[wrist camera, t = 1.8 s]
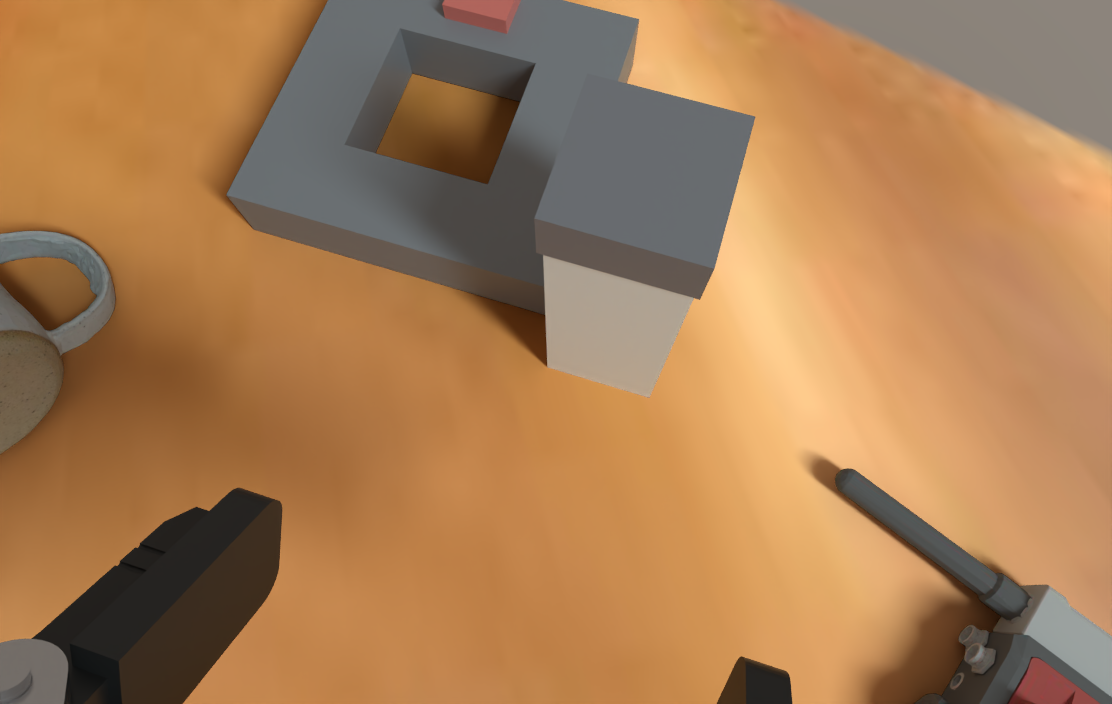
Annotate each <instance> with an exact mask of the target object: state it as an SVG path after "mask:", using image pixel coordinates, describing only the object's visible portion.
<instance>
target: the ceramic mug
mask: <svg viewBox="0 0 1112 704" xmlns="http://www.w3.org/2000/svg"><path fill="white" fill-rule="evenodd" d="M33 257H52V258H61V259H65V260H68V261H69V262H70V263H74V264H75V265H76V266H77V267H78V268H79V269H80V270H81V272H82V273H83V274H84V275H85V276H86V277H87V278H88V280H89V281H90V289H91V290H92V292H93V293H94V294H96V295H97V297H96V299H95V300H94V301H93V302H92V303H91V305H90V306H89V307H88V309H86V310H85V311H83V312H82V313H81V314H79V315H78V316H76V317H75V318H74V319H72V320H71V321H69V322H67V323H64V324H63V325H61V326H60V327H58V328H56V329H54V330H51V331H48V330H45V329H44V328H43V326H42V325H41V324H40V323H39V322H38V321H37V320H36V319H35V318H34V317H33V316H32V315H31V314H30V313H29V312H28V311H27V310H26V309H25V308H24V307H23V306H22V305H21V304H20V303H19V302H18V301H16V300H15V299H14V298H13V297H12V296H11V295H10V294H9V292H8V291H7V290H6V289H5V288H4V287H3V286H2V285H1V283H0V454H1V453H3V452H4V451H6V450H7V449H9V448H10V447H11V446H13V445H14V444H16V443H17V442H18V441H20V440H21V439H23V438H24V437H25V436H26V435H27V434H28V433H29V432H31V431H32V430H33V429H34V428H35V427H36V426H37V424H38V423H39V422H40V421H41V420H42V419H43V418H44V416H45V415H46V414H47V413H48V412H49V410H50V409H51V407H52V405H53V403H54V402H55V400H56V398H57V397H58V394H59V391H60V389H61V386H62V383H63V374H64V365H63V361H62V358H61V355H62V354H63V353H66V352H67V351H69V350H71V349H74V348H76V347H78V346H80V345H82V344H83V343H85V342H87V341H88V340H89V339H90V338H91V337H92V336H93V335H94V334H95V333H97V332H98V331H100V329H101V328H102V327H103V326H104V325H105V324H106V323H107V322H108V321H109V319H110V317H111V315H112V313H113V311H114V307H115V299H116V297H115V291H114V286H113V283H112V280H111V275H110V273H109V270H108V268H107V266H106V265H105V263H104V262H103V260H102V259H101V258H100V256H99V255H98V254H97V253H96V252H95V251H94V250H93V249H92V248H91V247H89V246H88V245H87V244H85V243H84V242H82V241H80V240H78V239H76V238H74V237H71V236H68V235H65V234H61V233H55V232H47V231H19V232H12V233H4V234H0V264H3V263H6V262H9V261H14V260H17V259H24V258H33Z"/></svg>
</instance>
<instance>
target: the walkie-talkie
mask: <svg viewBox="0 0 1112 704" xmlns="http://www.w3.org/2000/svg"><path fill="white" fill-rule="evenodd" d="M835 485H836V487H837V489H838V490H839V491H840V492H842V493H843V494H844V495H846V496H847V497H848V498H850V499H851V500H852V501H854V502H855V503H856V504H858V505H859V506H860V507H862V508H863V509H864V510H866V511H867V512H868V513H870V514H871V515H872V516H874V517H875V518H876V519H878V520H879V521H880V522H882V523H883V524H884V525H886V526H887V527H888V528H890V529H891V530H892V531H894V532H895V533H896V534H898V535H899V536H900V537H902V538H903V539H904V540H906V541H907V542H908V543H910V544H911V545H912V546H914V547H915V548H916V549H918V550H919V551H920V552H922V553H923V554H924V555H926V556H927V557H928V558H930V559H931V560H932V561H934V562H935V563H936V564H938V565H939V566H940V567H942V568H943V569H944V570H946V571H947V572H948V573H950V574H951V575H952V576H954V577H955V578H956V579H958V580H959V581H960V582H962V583H963V584H965V585H966V586H967V587H969V588H970V589H971V590H973V591H974V592H975V593H977V594H978V598H979V600H980V601H981V602H983V603H984V604H985V605H987V606H988V607H989V608H991V609H992V610H994V611H995V612H996V613H998V614H999V615H1000V616H1001V618H1000V619H999V621H998V623H997V624H996V626H995V628H994V629H993V633H989V632H988V631H986V630H979V629H977V628H976V627H975V626H973V625H969V626H967V627H966V628H964V630H963V631H962V632H961V633H960V635H959V642H960V643H961V644H963V645H964V646H965V647H966V650H965V652H966V653H965V656H964V659H963V661H962V662H961V664H960V666H959V667H958V669H957V671H956V672H955V674H954V676H953V677H952V679H951V681H950V683H949V684H948V686H947V688H946V689H945V691H944V693H943V694H942V696H940V695H937V694H927V695H925V696H923V697H922V698H921V699H919V700H918V701H917V702H916V703H914V704H1112V636H1111V635H1109V634H1108V633H1106V632H1105V631H1104V630H1102V629H1101V628H1100V627H1098V626H1097V625H1095V624H1094V623H1093V622H1091V621H1090V620H1089V619H1087V618H1086V617H1085V616H1083V615H1082V614H1080V613H1079V612H1078V611H1076V610H1075V609H1074V608H1072V607H1071V606H1070V605H1069V603H1068V601H1067V599H1066V598H1065V597H1064V596H1062V595H1061V594H1060V593H1058V592H1057V591H1056V590H1054V589H1053V588H1051V587H1050V586H1049V585H1026V586H1021V587H1020V586H1018V585H1017V584H1016V583H1014V582H1013V581H1012V580H1010V579H1009V578H1007V577H1006V576H1005V575H1003V574H1002V573H994V572H993V571H992V570H990V569H989V568H988V567H986V566H985V565H983V564H982V563H981V562H979V561H978V560H977V559H975V558H974V557H973V556H971V555H970V554H968V553H967V552H966V551H964V550H963V549H962V548H960V547H959V546H958V545H956V544H955V543H953V542H952V541H951V540H949V539H948V538H947V537H945V536H944V535H943V534H941V533H940V532H939V531H937V530H936V529H934V528H933V527H932V526H930V525H929V524H928V523H926V522H925V521H924V520H922V519H921V518H919V517H918V516H917V515H915V514H914V513H913V512H911V511H910V510H909V509H907V508H906V507H905V506H903V505H902V504H900V503H899V502H898V501H896V500H895V499H894V498H892V497H891V496H890V495H888V494H887V493H885V492H884V491H883V490H881V489H880V488H879V487H877V486H876V485H875V484H873V483H872V482H871V481H869V480H868V479H866V478H865V477H864V476H862V475H861V474H860V473H858V472H857V471H856V470H853V469H843V470H841V471H840V472H839V473H838V474H837V475H836V478H835Z"/></svg>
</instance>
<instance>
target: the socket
mask: <svg viewBox="0 0 1112 704" xmlns="http://www.w3.org/2000/svg"><path fill="white" fill-rule="evenodd" d="M638 24H639V19H636V18H632V17H628V16H624V15H620V14H616V13H612V12H608V11H604V10H600V9H595V8H591V7H587V6H583V5H579V4H575V3H571V2H567V1H563V0H328V2H327V4H326V5H325V7H324V9H323V11H322V13H321V15H320V17H319V19H318V21H317V23H316V25H315V26H314V28H313V30H312V32H311V34H310V36H309V38H308V40H307V42H306V44H305V46H304V47H303V49H302V51H301V53H300V55H299V57H298V59H297V61H296V63H295V65H294V67H293V68H292V70H291V72H290V74H289V76H288V78H287V80H286V82H285V84H284V86H283V87H282V89H281V91H280V93H279V95H278V97H277V99H276V101H275V103H274V105H273V107H272V108H271V110H270V112H269V114H268V116H267V118H266V120H265V122H264V124H263V126H262V128H261V129H260V131H259V133H258V135H257V137H256V139H255V141H254V143H253V145H252V147H251V149H250V150H249V152H248V154H247V156H246V158H245V160H244V162H243V164H242V166H241V168H240V170H239V171H238V173H237V175H236V177H235V179H234V181H233V183H232V185H231V187H230V189H229V190H228V192H227V194H226V195H227V197H228V198H229V199H230V200H231V202H232V203H233V204H234V205H235V207H236V208H237V209H238V210H239V211H240V213H241V214H242V215H243V216H244V218H245V219H246V220H247V221H248V223H249V224H250V225H251V226H252V228H253V229H254V230H257V231H261V232H264V233H268V234H271V235H274V236H278V237H281V238H285V239H288V240H291V241H295V242H298V243H302V244H305V245H309V246H312V247H315V248H319V249H322V250H326V251H329V252H332V253H336V254H339V255H343V256H346V257H349V258H353V259H356V260H360V261H363V262H366V263H370V264H373V265H377V266H380V267H384V268H387V269H390V270H394V271H397V272H401V273H404V274H407V275H411V276H414V277H418V278H421V279H424V280H428V281H431V282H435V283H438V284H441V285H445V286H448V287H452V288H455V289H459V290H462V291H465V292H469V293H472V294H476V295H479V296H482V297H486V298H489V299H493V300H496V301H499V302H503V303H506V304H510V305H513V306H517V307H520V308H523V309H527V310H530V311H534V312H537V313H540V314H544V315H545V292H544V266H543V255H541V254H538V253H536V239H535V222H534V218H535V215H536V212H537V210H538V207H539V204H540V201H541V199H542V196H543V193H544V190H545V188H546V185H547V182H548V180H549V177H550V174H551V171H552V169H553V166H554V163H555V160H556V158H557V155H558V152H559V149H560V147H561V144H562V141H563V139H564V136H565V133H566V130H567V128H568V125H569V122H570V119H571V117H572V114H573V111H574V109H575V106H576V103H577V100H578V98H579V95H580V92H581V89H582V87H583V84H584V81H585V78H586V76H587V73H588V74H592V75H596V76H600V77H603V78H607V79H611V80H615V81H619V82H623V83H627V80H628V77H629V74H630V71H631V68H632V66H633V60H634V53H635V45H636V38H637V31H638ZM412 73H414V74H417V75H421V76H425V77H429V78H433V79H436V80H440V81H444V82H448V83H451V84H455V85H459V86H463V87H467V88H470V89H474V90H478V91H482V92H485V93H489V94H493V95H497V96H501V97H504V98H508V99H512V100H516V101H519V102H520V105H519V107H518V110H517V112H516V115H515V117H514V120H513V122H512V125H511V127H510V130H509V132H508V135H507V137H506V140H505V142H504V145H503V147H502V150H501V153H500V155H499V158H498V160H497V163H496V165H495V168H494V170H493V173H492V175H491V178H490V180H489V183H488V184H484V183H481V182H477V181H474V180H470V179H466V178H463V177H459V176H455V175H452V174H448V173H445V172H441V171H437V170H434V169H430V168H427V167H423V166H419V165H416V164H412V163H409V162H405V161H401V160H398V159H394V158H391V157H387V156H383V155H380V154H376V151H377V149H378V146H379V144H380V142H381V140H382V138H383V135H384V133H385V131H386V129H387V127H388V125H389V122H390V120H391V118H392V116H393V114H394V112H395V109H396V107H397V105H398V103H399V101H400V98H401V96H402V94H403V92H404V90H405V88H406V85H407V83H408V81H409V79H410V77H411V75H412Z"/></svg>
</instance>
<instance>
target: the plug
mask: <svg viewBox="0 0 1112 704" xmlns="http://www.w3.org/2000/svg"><path fill="white" fill-rule="evenodd" d="M754 120H755V116H751V115H747V114H743V113H739V112H735V111H731V110H727V109H724V108H720V107H716V106H712V105H708V104H704V103H700V102H696V101H693V100H689V99H685V98H681V97H677V96H673V95H669V94H665V93H662V92H658V91H654V90H650V89H646V88H642V87H638V86H634V85H631V84H627V83H623V82H619V81H615V80H611V79H607V78H603V77H600V76H596V75H592V74H588V73H587V76H586V78H585V81H584V84H583V87H582V89H581V92H580V95H579V98H578V100H577V103H576V106H575V109H574V111H573V114H572V117H571V119H570V122H569V125H568V128H567V130H566V133H565V136H564V139H563V141H562V144H561V147H560V149H559V152H558V155H557V158H556V160H555V163H554V166H553V169H552V171H551V174H550V177H549V180H548V182H547V185H546V188H545V190H544V193H543V196H542V199H541V201H540V204H539V207H538V210H537V212H536V215H535V218H534V222H535V239H536V253H538V254H541V255H543V266H544V292H545V318H546V343H547V367H548V368H552V369H555V370H558V371H562V372H565V373H568V374H572V375H575V376H578V377H582V378H585V379H588V380H592V381H595V382H598V383H602V384H605V385H608V386H611V387H615V388H618V389H621V390H625V391H628V392H631V393H635V394H638V395H641V396H645V397H648V398H649V397H650V395H651V393H652V391H653V388H654V386H655V384H656V382H657V379H658V377H659V375H660V373H661V370H662V368H663V366H664V364H665V361H666V359H667V357H668V355H669V352H670V350H671V348H672V346H673V344H674V341H675V339H676V337H677V335H678V332H679V330H680V328H681V326H682V323H683V321H684V319H685V317H686V314H687V312H688V310H689V308H690V305H691V303H692V301H693V299H694V298H696V299H699V300H700V298H701V296H702V294H703V292H704V290H705V287H706V285H707V283H708V281H709V279H710V277H711V275H712V272H713V270H714V268H715V264H716V260H717V257H718V253H719V249H720V246H721V242H722V238H723V234H724V231H725V227H726V223H727V220H728V216H729V212H730V209H731V205H732V201H733V197H734V194H735V190H736V186H737V183H738V179H739V175H740V172H741V168H742V164H743V160H744V157H745V153H746V149H747V146H748V142H749V138H750V135H751V131H752V127H753V124H754Z"/></svg>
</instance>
